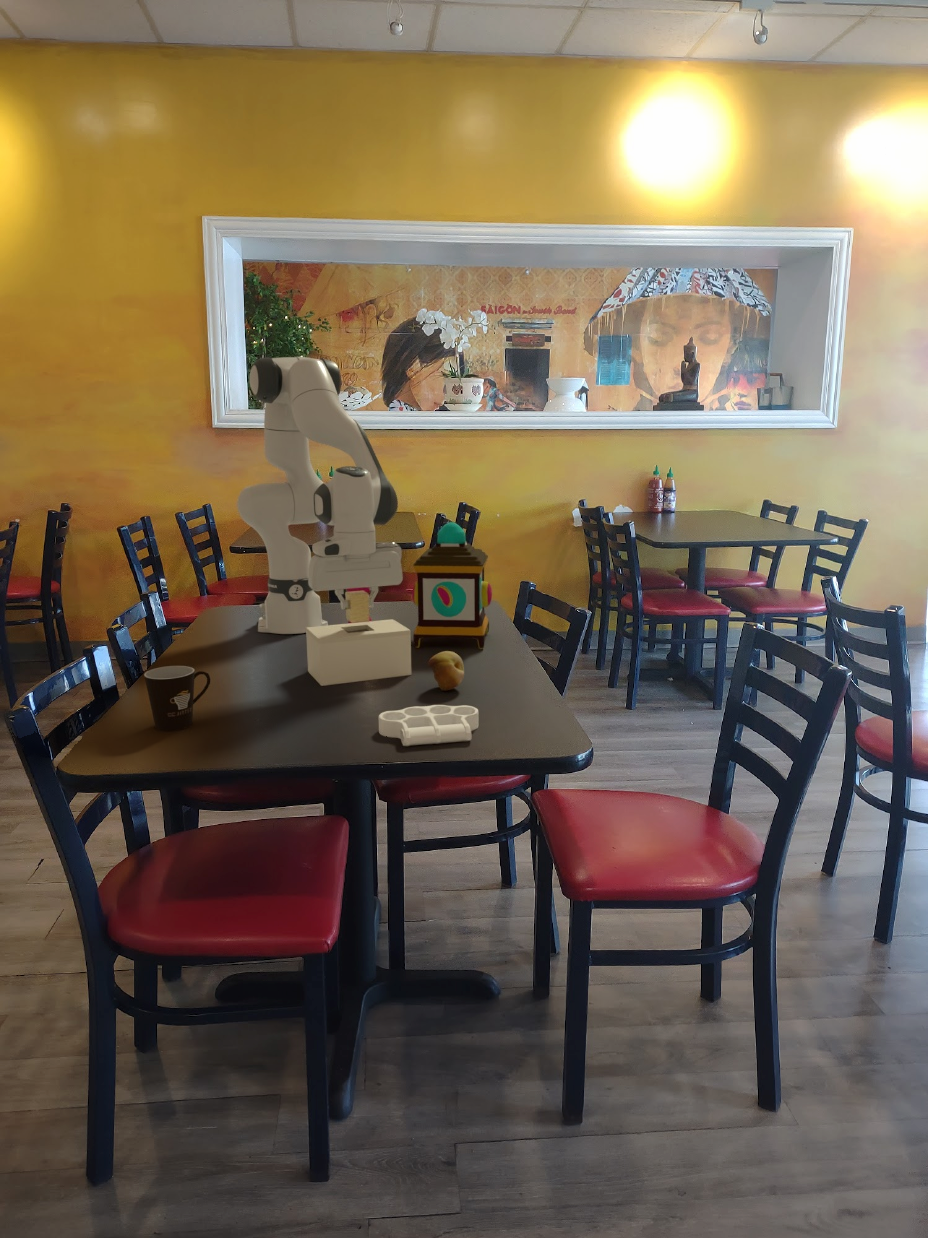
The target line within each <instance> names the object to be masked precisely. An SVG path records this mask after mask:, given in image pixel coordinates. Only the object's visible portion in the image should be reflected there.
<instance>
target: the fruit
mask: <svg viewBox="0 0 928 1238" xmlns="http://www.w3.org/2000/svg"><path fill="white" fill-rule="evenodd" d="M427 665H428V668H430V669H431V670H432V672H433V677H434V680H435V681H436V682H437V686H438V687H439V689H440V690H441V691H452V690H454V689H455V688H456V687H458V686H459V685H460V684H461V682H463V681H462V680H463V679H464V677H465V665H464V662H463V659H462V657H461V656H460V655H458V654H457V653H455V651H449V650H445V651H441V652H438V653H436V654H435V655H432V657H431V658H429V659H428V664H427Z"/></svg>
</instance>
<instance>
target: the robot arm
mask: <svg viewBox="0 0 928 1238" xmlns="http://www.w3.org/2000/svg"><path fill="white" fill-rule="evenodd" d="M248 378H249V386H250V389H251V392H252V394H253V396H254V398H256V400H258V401H259V402H262V403H265V406H264V407H265V409H264V422H263V423H264V425H263V426H264V428H263V429H264V435H263V436H264V456H265V459H266V460H267V462H268V464H270V465H271V466H273V467H274V468H276V469H278V470H281V471H283V472H284V473H285V475H286V482H269V483H268V482H265V483H263V482H262V483H258V484H254V485H249V486H246V487H243V489H242V490H240V492H239V494H238V497H237V500H236V502H237V503H236V507H237V511H238V514H239V516H240V519H242V521H244V523H245V524H247V525H248V526H250V527H251V528H253V530H254V531H255V532H256V533H257V534H258V535H259V536H260V538H261V539H262V542H263V543H264V546H265V549H266V553H267V561H268V572H269V573H268V574H269V576H268V580H267V591H268V594H267V596H266V598H265V600H264V603H260V604H259V613H261V614H262V613H263V614H262V616H261V617H259V618H258V624H257V632H258V633H270V634H277V635H279V634H280V635H293V634H295V635H296V634H304V633H305V634H306V627H317V626H327V625H329V624H328V620H324V619H323V615H322V606H321V603H322V602H321V596H320V595H318V594H317V593H316V592H321V591H322V592H323V591H334V594H335V596H337V599H338V600H339V601H340V609H341V610H343V611H344V610H345V611H346V609H349V601H348V600H346V599H345V598H344V597H343V595H345V593H344V592H345V591H344V590H347V589H350V588H363V587H369V590H371V591H370V592H369V593H370V594H369V608H374V606H375V605H374V603H375V602H374V601H375V598H376V596H377V594H378V593H379V587H383V586H384V587H385V586H387V587H388V586H399V585H401V583H402V581H403V579H404V578H403V577H404V575H403V568H402V562H401V560H402V558H403V557H402V553H403V552H402V551H403V550H402V548H401V546H400V544H397V543H396V542H391V541H390V542H377V541H376V538H377V537H376V527H375V526H384V525H386V524H388V523H389V522H391V520H392V519H393V517H394V516H395V515H396V514H397V511H398V507H399V504H398V503H399V502H398V496H397V491H396V490H395V487H394V486H393V485H392V483H391V482H390V480H389V479H388V478H387V476H386V474H385V471H383V468H382V466H381V464H380V462H379V460H378V457H377V455H376V453H375V451H374V448H373V446H372V444H371V442H370V440H369V438H368V436H367V434H366V431H365V430H364V428H363V426H362V425H361V424H360V422H359V421H357V420H355V419H353V418H352V416H350V415H349V414H348V413H347V411H346V410H345V409H344V407H343V406H342V404H341V401H340V398H339V396H340V393H341V389H342V374H341V371H340V369H339V366H338V364H336V362H335V361H332V360H329V359H327V358H326V359H325V358H319V359H318V358H313V357H308V356H294V357H293V356H288V357H283V356H282V357H272V358H271V357H270V356H268V357H267V356H266V357H262V358H258V359H256V360H255V361H254V362H253V364H252V365H251V368H250V373H249V377H248ZM309 440H310V441H312V442H315V443H318V444H321V445H325V446H328V447H331V448H335V449H337V450H339V451H342V452H343V453H346V454H347V455H348V456H349V457H351V459H352V461H353V463H354V465H355V466H354V465H353V466H346V465H345V466H341V467H338V468H336V469H335V470H334V471H333V475H332V478H331V479H330V480H329V481H327V482H323V481H322V479H321V478H320V477H319V476H318V475H317V473H316V471H315V470H314V467H313V464H312V462H311V456H310V455H311V454H310V441H309ZM318 522H321V523H322V524H324V525H327V526H334V527H333V536H331V537H327V538H325V539H322V540H320V541H317V542H315V543H313V544H312V545H311V546H312V548H311V549H312V550H311V549H310V547H309V545H308V544H307V542H305V541H303V540H302V539H300V538H298V537H296V536H292V535H291V533H290V529H289V526H290V525H303V524H305V525H306V524H314V523H315V524H316V523H318ZM311 551H312V552H313V554H314V555H312V553H311Z"/></svg>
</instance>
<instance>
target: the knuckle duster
mask: <svg viewBox="0 0 928 1238" xmlns="http://www.w3.org/2000/svg"><path fill="white" fill-rule="evenodd" d="M479 714H480V713H479V709H478V708H477V707H475V706H472V705H466V704H464V705H463V704H462V705H447V704H446V705H445V704H432V705H427V706H426V705H425V706H417V705H416V706H409V707H404V708H403V709H402V708H401V709H398V710H386V711H383V712H381V713H380V714H379V715H378V734H380V735H381V736H383V737H386V736H387V737H388V738H398V739H400V741H401V744H402V746H403V747H410V746H419V745H421V746H422V745H433V744H437V745H438V744H447V743H457V742H458V743H459V742H470V741H471V740H472V739H473V738H472V736H473V735H472V734H473V733H472V732H473V731H475V730H476V729H478V728H479V723H480V721H479V717H480V715H479ZM387 737H386V738H387Z"/></svg>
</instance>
